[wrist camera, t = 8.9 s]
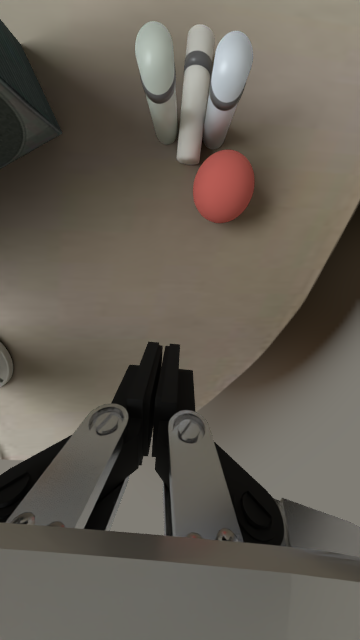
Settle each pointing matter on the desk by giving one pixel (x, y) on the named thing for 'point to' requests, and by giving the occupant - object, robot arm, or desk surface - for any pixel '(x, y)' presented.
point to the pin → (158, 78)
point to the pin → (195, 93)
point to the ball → (223, 186)
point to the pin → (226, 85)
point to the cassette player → (21, 103)
